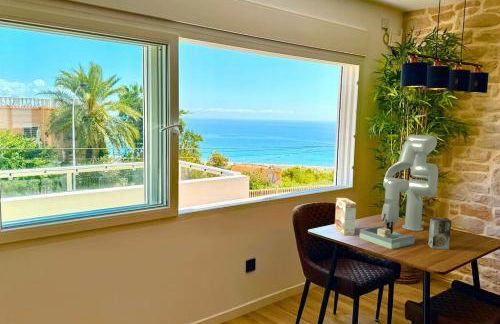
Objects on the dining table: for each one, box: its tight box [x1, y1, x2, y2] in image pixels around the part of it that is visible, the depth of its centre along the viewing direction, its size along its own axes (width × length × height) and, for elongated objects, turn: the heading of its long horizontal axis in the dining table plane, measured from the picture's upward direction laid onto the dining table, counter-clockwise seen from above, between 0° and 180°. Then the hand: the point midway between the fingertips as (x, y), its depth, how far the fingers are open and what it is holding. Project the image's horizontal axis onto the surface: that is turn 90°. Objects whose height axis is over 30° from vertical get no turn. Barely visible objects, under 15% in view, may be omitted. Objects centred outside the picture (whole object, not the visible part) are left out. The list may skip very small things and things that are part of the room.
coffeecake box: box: [334, 197, 357, 236], centre depth 239 cm, size 15×7×20 cm, turn 9°
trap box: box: [359, 224, 416, 250], centre depth 225 cm, size 20×22×5 cm
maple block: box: [377, 227, 391, 238], centre depth 223 cm, size 5×5×4 cm
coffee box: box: [427, 216, 452, 250], centre depth 216 cm, size 9×6×16 cm
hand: (389, 233), depth 225 cm, fingers closed
